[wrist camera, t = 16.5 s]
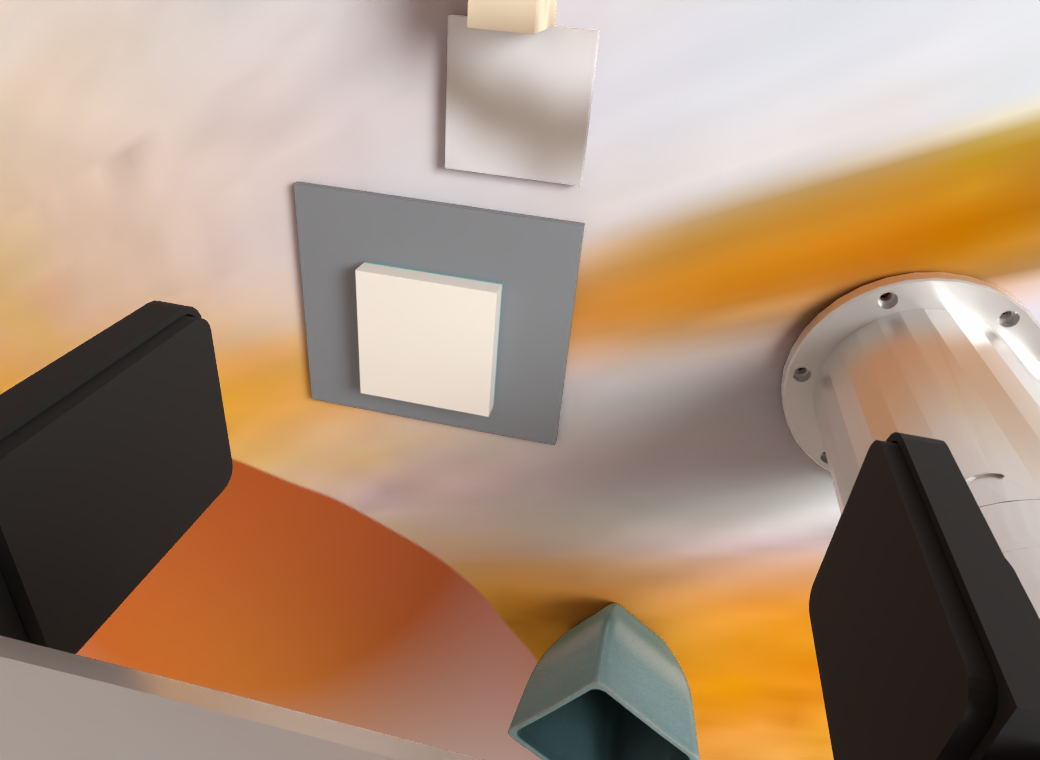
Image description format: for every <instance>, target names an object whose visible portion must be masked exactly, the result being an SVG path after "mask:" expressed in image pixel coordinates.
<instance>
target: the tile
mask: <svg viewBox="0 0 1040 760" xmlns="http://www.w3.org/2000/svg"><path fill="white" fill-rule="evenodd" d="M355 274H356V297H357V320H358V344H359V367H360V390H361V393H363V394H369V395H374V396H380V397H385V398H390V399H396V400H401V401H406V402H412V403H417V404H422V405H428V406H433V407H438V408H444V409H449V410H454V411H460V412H465V413H470V414H476V415H481V416H486V417H489V415H490V412H491V410H492V408H493V406H494V399H495V385H496V371H497V357H498V343H499V329H500V315H501V301H502V287H503V283H499V282H493V281H486V280H480V279H474V278H468V277H461V276H455V275H449V274H443V273H436V272H430V271H424V270H418V269H411V268H405V267H399V266H393V265H386V264H380V263H374V262H368V261H365V262H364V263H363V264H362V265H360V266H359V267H358V268H357V269H356V270H355Z"/></svg>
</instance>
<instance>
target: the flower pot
mask: <svg viewBox="0 0 1040 760" xmlns="http://www.w3.org/2000/svg"><path fill="white" fill-rule="evenodd" d="M508 733H509V735H510V736H511V737H512V738H513V739H515V740H516V741H517V742H518V743H520V744H521V745H522V746H524V747H525V748H527V749H528V750H530V751H531V752H532V753H534V754H535V755H536V756H538V757H539V758H541V759H542V760H700V757H699V750H698V742H697V734H696V726H695V718H694V711H693V704H692V698H691V693H690V689H689V686H688V683H687V680H686V677H685V675H684V673H683V671H682V669H681V667H680V665H679V663H678V661H677V660H676V658H675V656H674V655H673V653H672V652H671V650H670V649H669V647H668V646H667V645H666V643H665V642H664V641H663V640H662V639H661V638H660V637H659V636H657V635H656V634H655V633H654V632H652V631H651V630H650V629H649V628H647V627H646V626H645V625H643V624H642V623H641V622H640V621H639V620H637V619H636V618H635V617H634V616H632V615H631V614H630V613H629V612H628V611H626V610H625V609H624V608H623V607H621V606H620V605H618V604H616V603H611V604H609V605H608V606H606V607H604V608H603V609H601V610H600V611H598V612H597V613H595V614H594V615H592V616H591V617H589V618H587V619H586V620H584V621H583V622H581V623H579V624H578V625H576V626H574V627H573V628H571V629H570V630H569V631H568V632H566V633H565V634H564V635H563V636H562V637H560V638H559V639H558V640H557V641H556V642H555V643H554V644H553V645H552V646H551V647H550V648H549V649H548V650H547V651H546V653H545V654H544V655H543V656H542V658H541V659H540V661H539V662H538V664H537V665H536V667H535V668H534V670H533V672H532V675H531V676H530V679H529V681H528V683H527V685H526V688H525V690H524V693H523V695H522V698H521V700H520V703H519V705H518V708H517V710H516V712H515V715H514V718H513V720H512V723H511V725H510V728H509V730H508Z"/></svg>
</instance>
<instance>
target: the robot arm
mask: <svg viewBox="0 0 1040 760" xmlns="http://www.w3.org/2000/svg"><path fill="white" fill-rule="evenodd" d="M888 292H889V295H888V296H887V297H885V298H881V297H880V296H881V295H883V294H884V293H888ZM1006 311H1007V313H1006V314H1004V315H1002V313H1004V312H1006ZM803 367H805V368H804V369H802V370H797V369H798V368H803ZM781 395H782V405H783V410H784V414H785V418H786V423H787V425H788V427H789V429H790V431H791V433H792V435H793V437H794V439H795V441H796V442H797V443H798V445H799V446H800V447H801V448H802V450H803V451H804V452H805V453H806V455H808V456H809V457H810V458H811V459H812V460H813V461H814V462H816V463H817V464H818V465H819V466H821V467H822V468H824V469H826V470H828V471H829V472H831V476H832V480H833V484H834V488H835V492H836V496H837V499H838V503H839V507H840V511H841V518H840V520H839V522H838V525H837V527H836V530H835V532H834V535H833V537H832V539H831V542H830V544H829V547H828V549H827V552H826V554H825V557H824V559H823V561H822V564H821V566H820V569H819V571H818V574H817V576H816V578H815V581H814V583H813V586H812V589H811V594H810V601H809V613H810V620H811V626H812V632H813V638H814V644H815V650H816V655H817V661H818V667H819V673H820V679H821V685H822V691H823V697H824V703H825V709H826V715H827V721H828V727H829V733H830V739H831V745H832V751H833V757H834V760H1040V324H1039V323H1038V322H1037V320H1036V319H1035V318H1034V317H1033V315H1032V314H1031V313H1030V312H1029V311H1028V310H1027V309H1026V308H1025V307H1024V306H1023V305H1022V304H1021V303H1020V302H1019V301H1018V300H1017V299H1015V298H1014V297H1013V296H1012V295H1010V294H1008V293H1007V292H1005V291H1003V290H1002V289H1000V288H998V287H996V286H995V285H993V284H991V283H988V282H985V281H982V280H979V279H976V278H973V277H970V276H966V275H960V274H953V273H946V272H914V273H909V274H903V275H898V276H892V277H887V278H884V279H881V280H878V281H875V282H872V283H870V284H867V285H864V286H861V287H859V288H857V289H855V290H854V291H852V292H850V293H848V294H846V295H844V296H842V297H840V298H839V299H837V300H836V301H834V302H833V303H832V304H831V305H829V306H828V307H827V308H825V309H824V310H823V311H821V312H820V313H819V314H818V315H817V316H816V317H815V318H814V319H813V320H812V321H811V322H810V323H809V324H808V325H807V327H806V328H805V329H804V330H803V331H802V332H801V334H800V336H799V337H798V339H797V340H796V342H795V343H794V345H793V347H792V348H791V350H790V353H789V355H788V358H787V361H786V363H785V366H784V369H783V376H782V383H781ZM231 474H232V458H231V452H230V446H229V439H228V433H227V427H226V421H225V414H224V408H223V402H222V396H221V389H220V383H219V377H218V371H217V365H216V358H215V352H214V346H213V340H212V333H211V329H210V325H209V324H208V322H207V321H206V320H204V319H202V318H201V315H200V314H199V312H198V310H196V309H195V308H193V307H189V306H184V305H178V304H172V303H167V302H161V301H152V302H150V303H147V304H146V305H144V306H143V307H141V308H139V309H138V310H136V311H134V312H133V313H131V314H130V315H128V316H126V317H125V318H123V319H122V320H120V321H118V322H117V323H115V324H114V325H112V326H110V327H109V328H107V329H105V330H104V331H102V332H101V333H99V334H97V335H96V336H94V337H93V338H91V339H89V340H88V341H86V342H85V343H83V344H81V345H80V346H78V347H76V348H75V349H73V350H72V351H70V352H68V353H67V354H65V355H64V356H62V357H60V358H59V359H57V360H56V361H54V362H52V363H51V364H49V365H47V366H46V367H44V368H43V369H41V370H39V371H38V372H36V373H35V374H33V375H31V376H30V377H28V378H27V379H25V380H23V381H22V382H20V383H18V384H17V385H15V386H14V387H12V388H10V389H9V390H7V391H6V392H4V393H2V394H1V395H0V760H483V759H480V758H476V757H472V756H468V755H465V754H461V753H457V752H453V751H449V750H446V749H442V748H438V747H433V746H430V745H426V744H422V743H418V742H415V741H411V740H407V739H403V738H399V737H395V736H392V735H388V734H384V733H380V732H376V731H372V730H368V729H364V728H361V727H357V726H353V725H349V724H345V723H341V722H337V721H334V720H330V719H326V718H322V717H318V716H314V715H311V714H307V713H303V712H299V711H295V710H291V709H287V708H283V707H279V706H276V705H271V704H268V703H264V702H260V701H256V700H252V699H248V698H245V697H241V696H237V695H233V694H229V693H225V692H221V691H217V690H214V689H210V688H206V687H202V686H198V685H194V684H190V683H186V682H182V681H178V680H174V679H170V678H166V677H163V676H159V675H155V674H151V673H147V672H143V671H139V670H135V669H131V668H127V667H123V666H119V665H115V664H111V663H107V662H103V661H99V660H95V659H91V658H87V657H83V656H79V655H75V654H76V653H77V652H78V651H79V650H80V649H81V648H82V647H83V646H84V644H85V643H86V642H87V641H88V640H89V639H90V638H91V637H92V636H93V634H94V633H95V632H96V631H97V630H98V629H99V628H100V627H101V625H102V624H103V623H104V622H105V621H106V620H107V619H108V618H109V617H110V615H111V614H112V613H113V612H114V611H115V610H116V609H117V608H118V606H120V604H121V603H122V602H123V601H124V600H125V599H126V598H127V597H128V595H129V594H130V593H131V592H132V591H133V590H134V589H135V588H136V587H137V585H138V584H139V583H140V582H141V581H142V580H143V579H144V578H145V577H146V576H147V574H148V573H149V572H150V571H151V570H152V569H153V568H154V567H155V566H156V564H157V563H158V562H159V561H160V560H161V559H162V558H163V557H164V556H165V554H166V553H167V552H168V551H169V550H170V549H171V548H172V547H173V546H174V544H175V543H176V542H177V541H178V540H179V539H180V538H181V537H182V536H183V534H184V533H185V532H186V531H187V530H188V529H189V528H190V526H192V524H193V523H194V522H195V521H196V520H197V519H198V518H199V517H200V516H201V514H202V513H203V512H204V511H205V510H206V509H207V508H208V507H209V505H210V504H211V503H212V502H213V501H214V500H215V499H216V498H217V497H218V496H219V494H220V493H221V492H222V491H223V490H224V488H225V487H226V486H227V484H228V482H229V480H230V477H231Z"/></svg>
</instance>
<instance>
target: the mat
mask: <svg viewBox="0 0 1040 760" xmlns="http://www.w3.org/2000/svg"><path fill="white" fill-rule="evenodd" d="M294 195H295V206H296V218H297V230H298V241H299V253H300V265H301V277H302V288H303V300H304V312H305V324H306V335H307V347H308V359H309V371H310V382H311V394H312V399H314V400H319V401H325V402H330V403H335V404H340V405H346V406H351V407H356V408H361V409H367V410H372V411H377V412H382V413H388V414H393V415H398V416H403V417H409V418H414V419H419V420H425V421H430V422H435V423H440V424H446V425H451V426H456V427H461V428H467V429H472V430H477V431H482V432H488V433H493V434H498V435H503V436H509V437H514V438H519V439H525V440H530V441H535V442H540V443H546V444H551V445H555V444H556V440H557V432H558V425H559V417H560V409H561V401H562V394H563V386H564V378H565V371H566V363H567V355H568V347H569V340H570V332H571V324H572V317H573V309H574V301H575V293H576V286H577V278H578V270H579V263H580V255H581V247H582V239H583V232H584V224H585V223H579V222H572V221H565V220H558V219H551V218H544V217H538V216H531V215H524V214H517V213H510V212H503V211H496V210H490V209H483V208H476V207H469V206H462V205H455V204H448V203H442V202H435V201H428V200H421V199H414V198H407V197H400V196H394V195H387V194H380V193H373V192H366V191H359V190H352V189H345V188H339V187H332V186H325V185H318V184H311V183H304V182H296V183H294ZM365 261H368V262H374V263H380V264H386V265H393V266H399V267H405V268H411V269H418V270H424V271H430V272H436V273H443V274H449V275H455V276H461V277H468V278H474V279H480V280H486V281H493V282H499V283H503V287H502V301H501V315H500V329H499V343H498V357H497V371H496V385H495V399H494V406H493V408H492V410H491V412H490V415H489V417H486V416H481V415H476V414H470V413H465V412H460V411H454V410H449V409H444V408H438V407H433V406H428V405H422V404H417V403H412V402H406V401H401V400H396V399H390V398H385V397H380V396H374V395H369V394H363V393H361V390H360V367H359V344H358V320H357V297H356V274H355V270H356V269H357V268H358V267H359V266H360V265H362V264H363V263H364V262H365Z"/></svg>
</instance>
